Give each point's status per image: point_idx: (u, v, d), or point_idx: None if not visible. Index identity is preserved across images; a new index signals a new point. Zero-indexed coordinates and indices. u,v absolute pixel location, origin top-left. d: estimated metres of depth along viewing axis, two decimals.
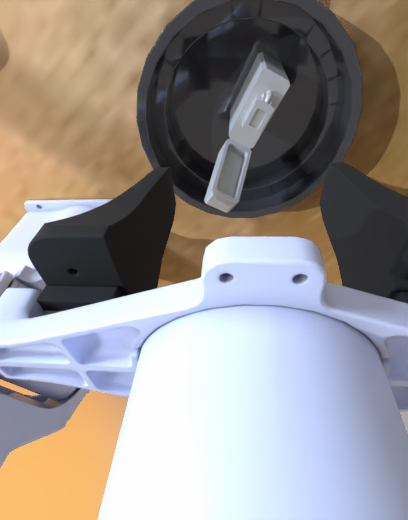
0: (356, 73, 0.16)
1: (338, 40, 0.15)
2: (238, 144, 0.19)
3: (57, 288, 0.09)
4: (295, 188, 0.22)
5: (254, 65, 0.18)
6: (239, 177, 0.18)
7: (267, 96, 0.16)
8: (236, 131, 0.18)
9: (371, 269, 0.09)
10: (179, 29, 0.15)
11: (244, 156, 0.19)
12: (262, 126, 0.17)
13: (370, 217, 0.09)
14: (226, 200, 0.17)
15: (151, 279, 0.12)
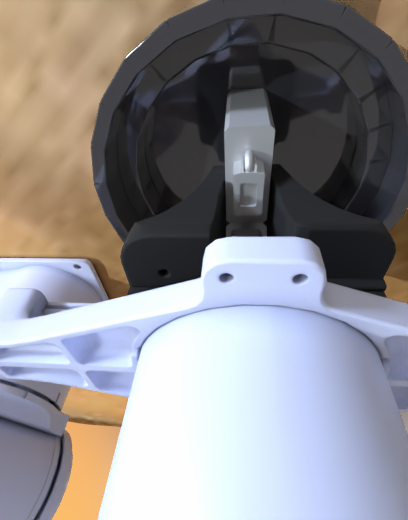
0: None
1: (397, 82, 0.10)
2: (245, 224, 0.13)
3: (143, 290, 0.09)
4: None
5: None
6: None
7: (246, 163, 0.10)
8: (233, 212, 0.13)
9: None
10: (146, 63, 0.10)
11: (260, 235, 0.13)
12: (260, 200, 0.11)
13: (282, 218, 0.10)
14: None
15: None
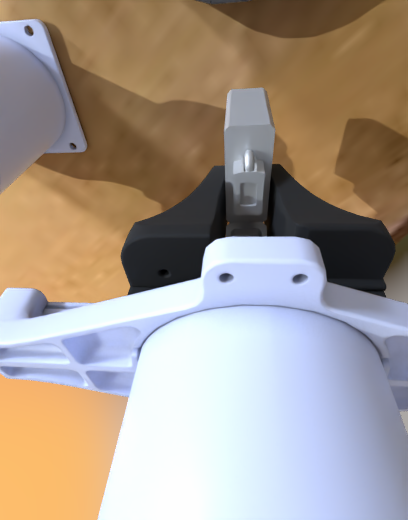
0: None
1: None
2: (245, 223, 0.13)
3: (143, 290, 0.09)
4: None
5: None
6: None
7: (246, 163, 0.10)
8: None
9: None
10: None
11: (260, 234, 0.13)
12: (260, 199, 0.11)
13: (282, 218, 0.10)
14: None
15: None
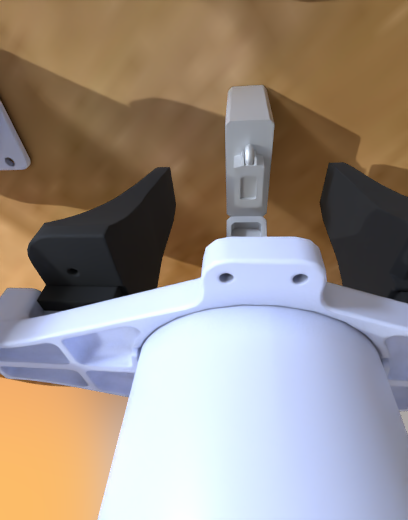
0: None
1: None
2: (245, 217, 0.13)
3: (57, 288, 0.09)
4: None
5: None
6: None
7: (246, 157, 0.11)
8: (233, 206, 0.13)
9: (371, 269, 0.09)
10: None
11: (259, 228, 0.13)
12: (260, 193, 0.11)
13: (370, 217, 0.09)
14: None
15: (151, 279, 0.12)
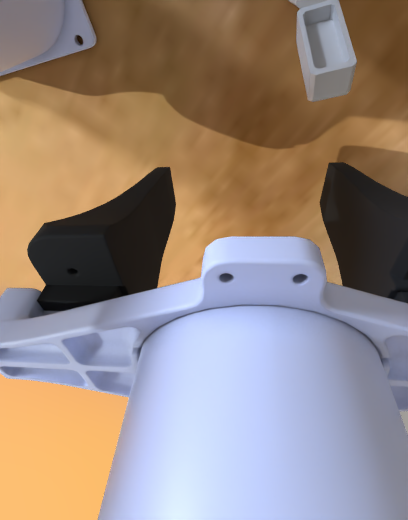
0: None
1: None
2: (316, 6, 0.13)
3: (57, 288, 0.09)
4: None
5: None
6: (339, 40, 0.13)
7: None
8: None
9: (371, 269, 0.09)
10: None
11: (332, 15, 0.13)
12: None
13: (370, 217, 0.09)
14: (337, 71, 0.12)
15: (151, 279, 0.12)
